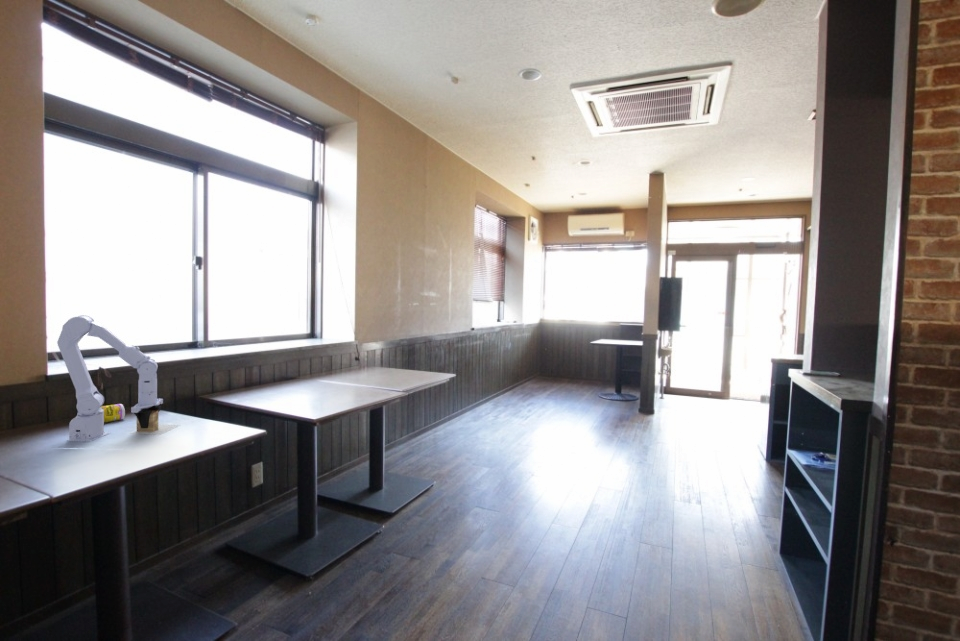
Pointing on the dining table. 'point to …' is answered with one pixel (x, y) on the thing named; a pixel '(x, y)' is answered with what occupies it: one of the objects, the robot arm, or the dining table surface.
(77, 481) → the dining table surface
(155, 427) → the oak block
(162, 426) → the grey mat
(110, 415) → the supplement bottle
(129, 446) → the dining table surface
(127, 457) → the dining table surface
